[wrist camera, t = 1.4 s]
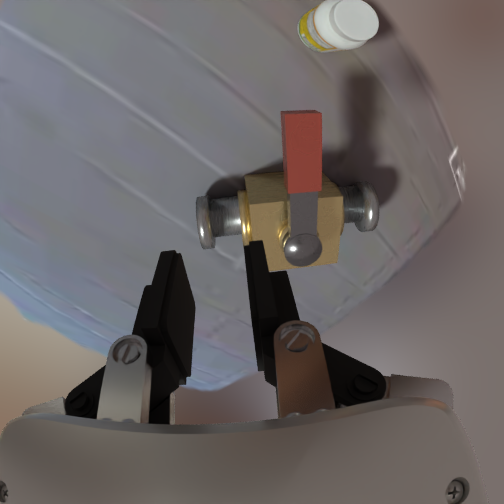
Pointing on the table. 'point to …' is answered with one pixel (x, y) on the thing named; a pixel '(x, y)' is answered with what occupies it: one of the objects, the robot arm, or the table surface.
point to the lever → (302, 184)
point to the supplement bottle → (338, 25)
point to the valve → (285, 216)
